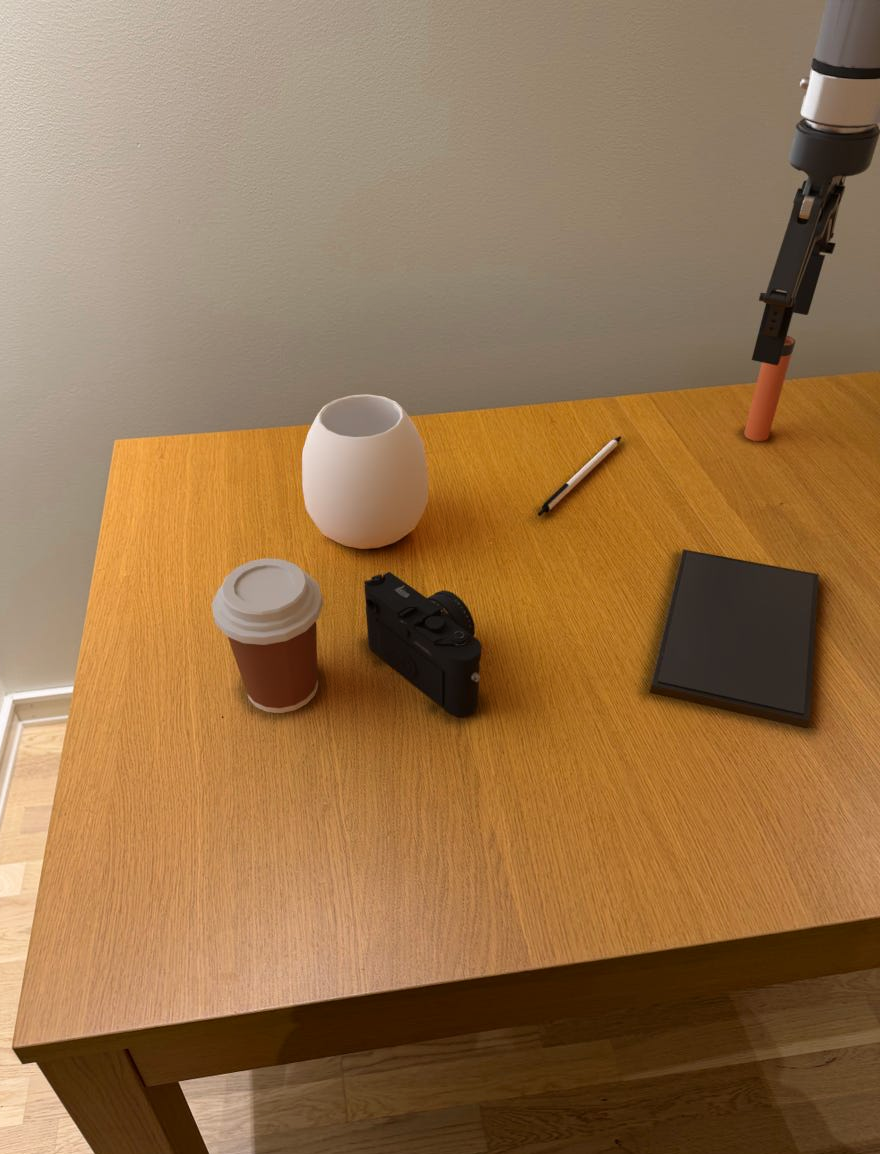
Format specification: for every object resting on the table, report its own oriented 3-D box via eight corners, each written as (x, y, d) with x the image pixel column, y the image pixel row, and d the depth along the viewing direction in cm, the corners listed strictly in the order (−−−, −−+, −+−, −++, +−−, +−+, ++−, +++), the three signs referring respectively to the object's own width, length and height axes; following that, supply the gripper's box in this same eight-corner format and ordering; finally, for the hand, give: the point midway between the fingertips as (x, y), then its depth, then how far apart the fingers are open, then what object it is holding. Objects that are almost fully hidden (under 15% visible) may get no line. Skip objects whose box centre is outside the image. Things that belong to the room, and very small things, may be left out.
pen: (535, 516, 100) (535, 508, 99) (617, 438, 110) (618, 430, 110) (542, 519, 99) (543, 510, 98) (624, 440, 110) (625, 432, 109)
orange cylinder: (774, 437, 110) (801, 341, 101) (756, 444, 109) (781, 348, 100) (756, 426, 111) (780, 332, 103) (738, 433, 110) (762, 338, 102)
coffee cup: (348, 663, 84) (337, 560, 76) (308, 735, 78) (291, 632, 70) (259, 642, 87) (239, 540, 78) (213, 710, 81) (186, 608, 72)
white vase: (284, 521, 101) (268, 411, 91) (381, 477, 106) (375, 369, 97) (354, 581, 93) (344, 467, 84) (454, 530, 98) (455, 418, 89)
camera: (519, 688, 81) (525, 621, 76) (461, 730, 78) (462, 663, 73) (412, 609, 89) (410, 544, 84) (355, 645, 86) (349, 579, 81)
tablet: (681, 556, 94) (683, 548, 93) (816, 581, 90) (819, 573, 90) (649, 692, 80) (651, 683, 80) (806, 728, 77) (810, 719, 76)
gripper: (826, 86, 96) (774, 287, 111) (765, 153, 80) (714, 376, 95) (903, 94, 93) (840, 299, 108) (855, 165, 78) (788, 393, 92)
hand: (781, 335), depth 101 cm, fingers open, 13 cm apart
